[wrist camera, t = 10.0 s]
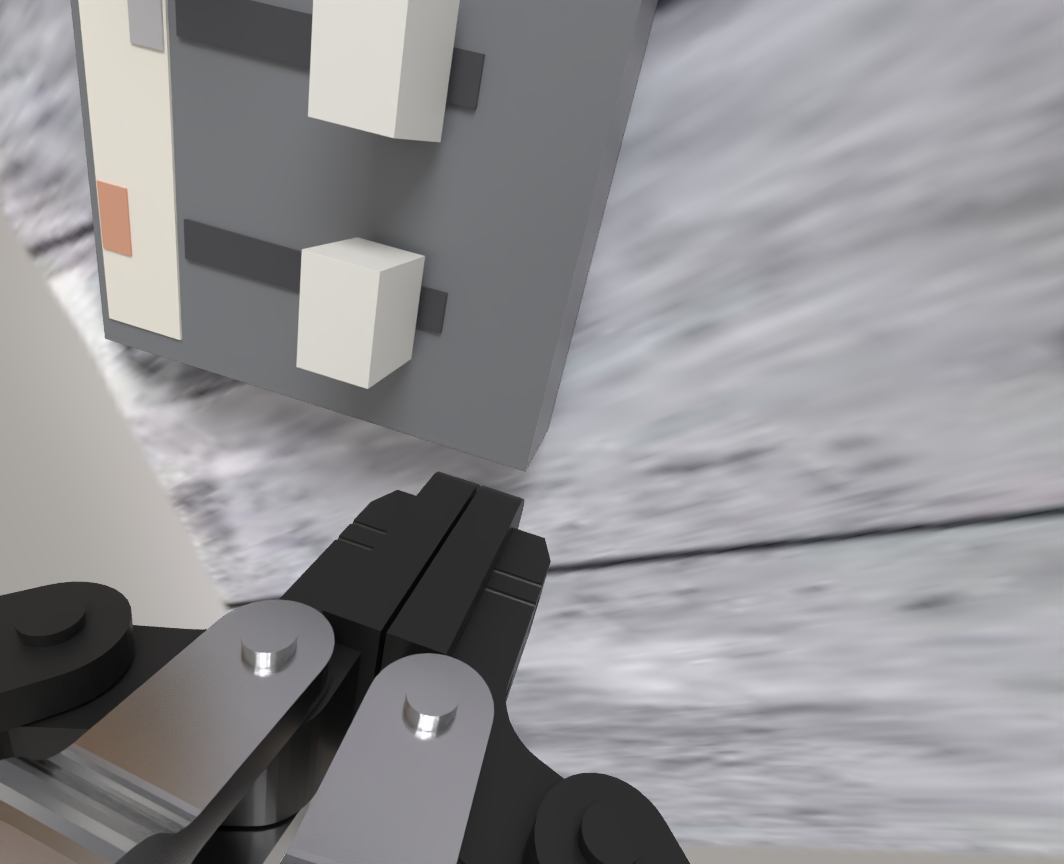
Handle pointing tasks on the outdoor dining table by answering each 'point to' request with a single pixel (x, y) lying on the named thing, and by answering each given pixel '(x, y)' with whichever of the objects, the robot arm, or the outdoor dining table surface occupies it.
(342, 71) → the switch tab
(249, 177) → the panel
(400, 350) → the switch tab
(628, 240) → the outdoor dining table surface
